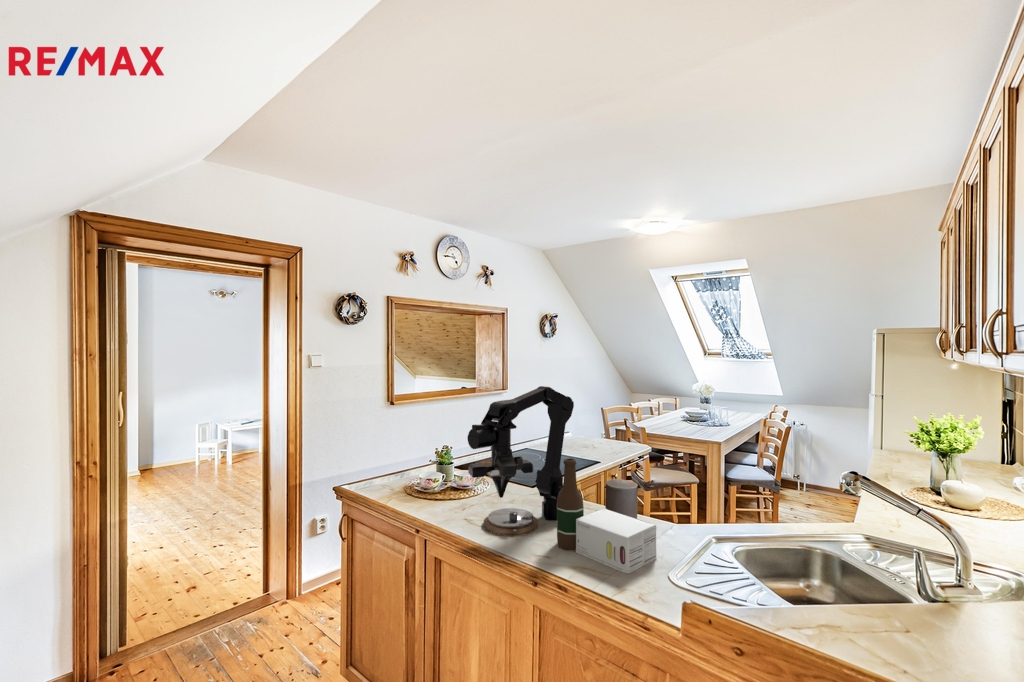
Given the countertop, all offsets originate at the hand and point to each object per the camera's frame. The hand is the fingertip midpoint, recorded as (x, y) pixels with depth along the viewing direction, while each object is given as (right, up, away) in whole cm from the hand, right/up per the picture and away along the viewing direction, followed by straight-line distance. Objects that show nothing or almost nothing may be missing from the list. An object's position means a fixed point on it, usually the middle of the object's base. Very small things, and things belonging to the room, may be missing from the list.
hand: (500, 497), depth 144 cm
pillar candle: (+37, -11, +4) cm, 39 cm away
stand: (+3, -11, +7) cm, 13 cm away
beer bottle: (+20, -11, -9) cm, 24 cm away
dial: (+3, -9, +7) cm, 12 cm away
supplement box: (+31, -11, -15) cm, 36 cm away
